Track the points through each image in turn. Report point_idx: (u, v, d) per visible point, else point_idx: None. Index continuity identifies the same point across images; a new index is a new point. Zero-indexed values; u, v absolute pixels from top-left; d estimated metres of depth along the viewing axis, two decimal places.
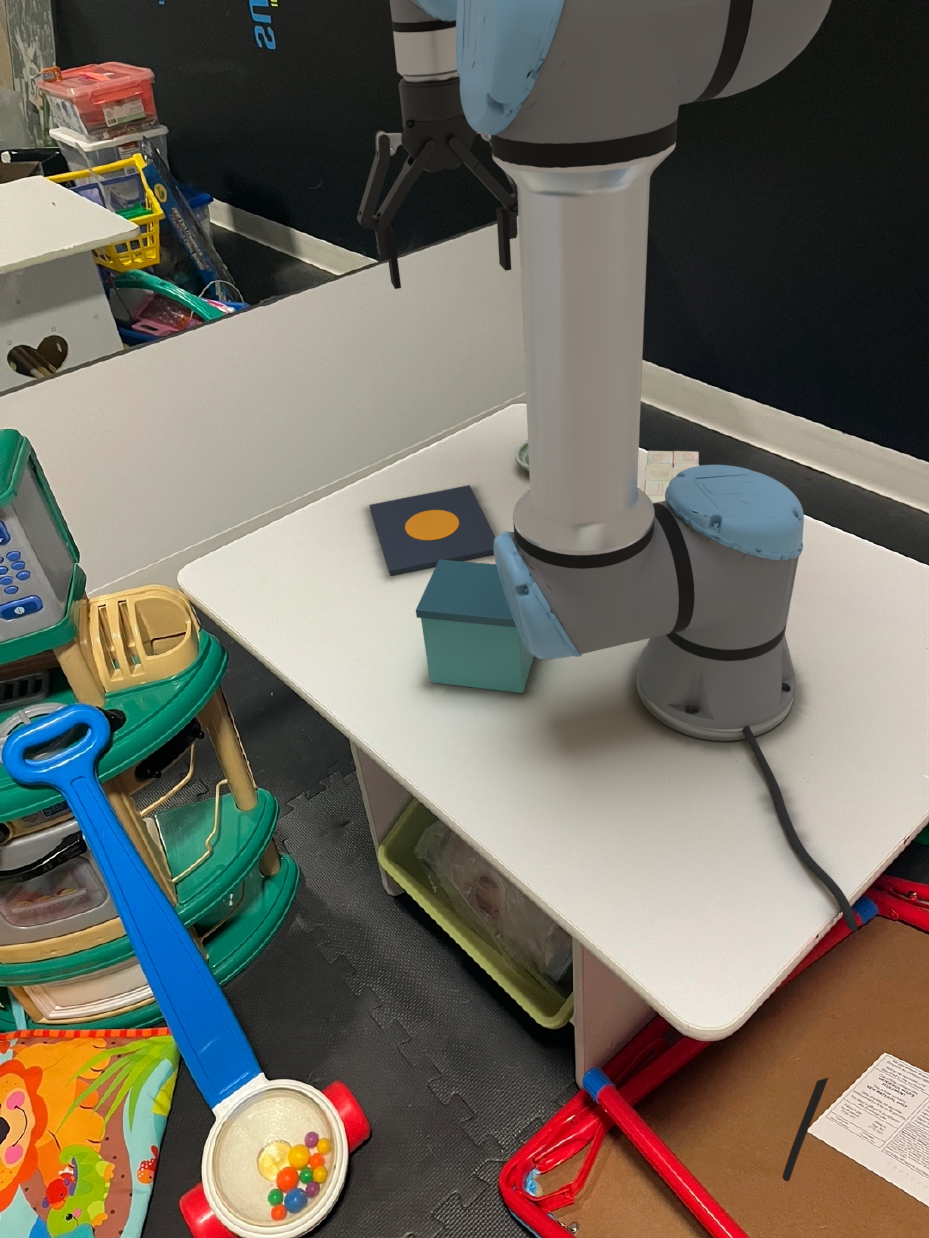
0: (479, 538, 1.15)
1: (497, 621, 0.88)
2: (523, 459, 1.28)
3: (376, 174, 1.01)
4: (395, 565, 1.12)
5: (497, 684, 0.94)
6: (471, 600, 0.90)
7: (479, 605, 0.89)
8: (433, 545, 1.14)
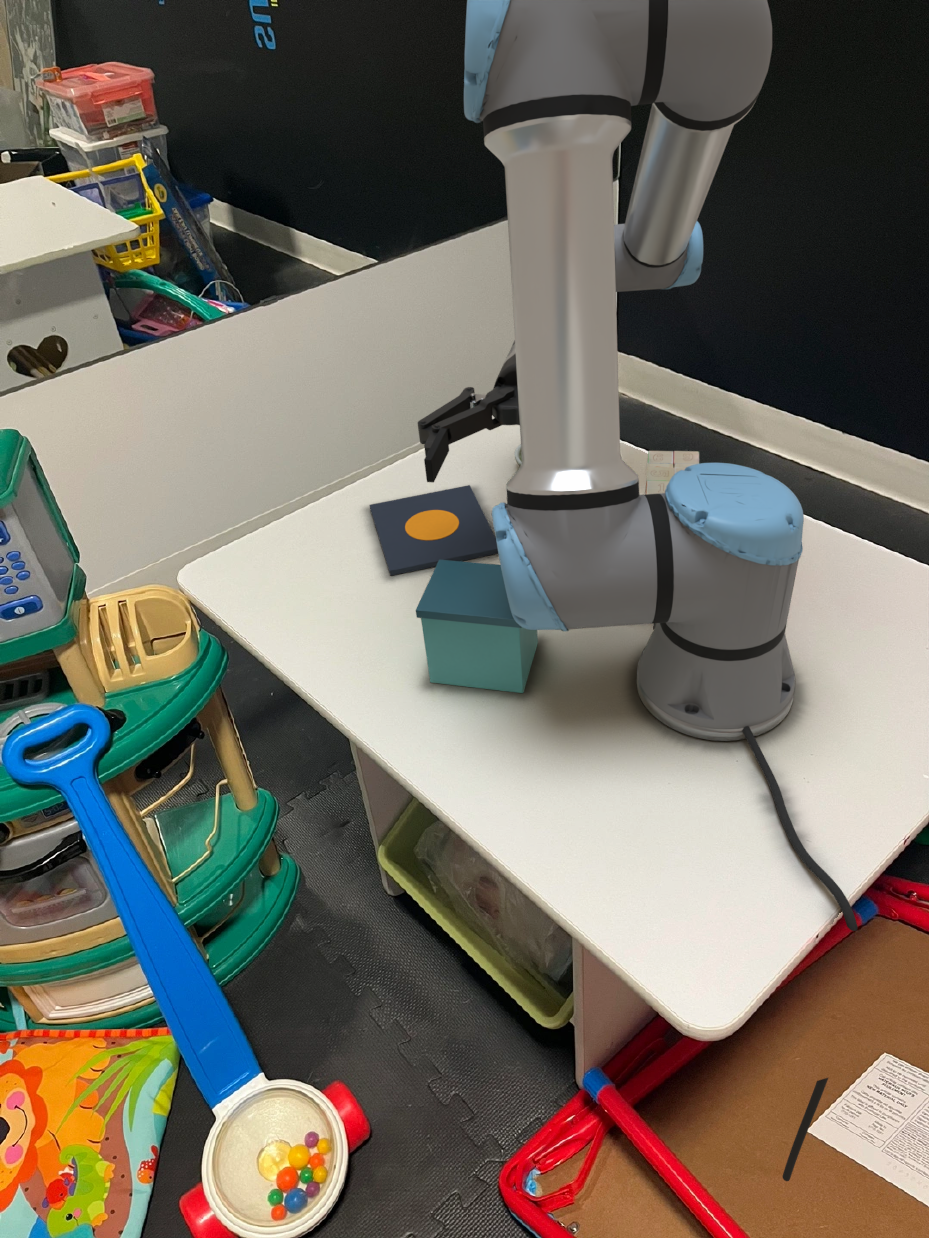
0: (479, 538, 1.15)
1: (497, 621, 0.88)
2: None
3: (451, 401, 1.04)
4: (395, 565, 1.12)
5: (497, 684, 0.94)
6: (471, 600, 0.90)
7: (479, 605, 0.89)
8: (433, 545, 1.14)
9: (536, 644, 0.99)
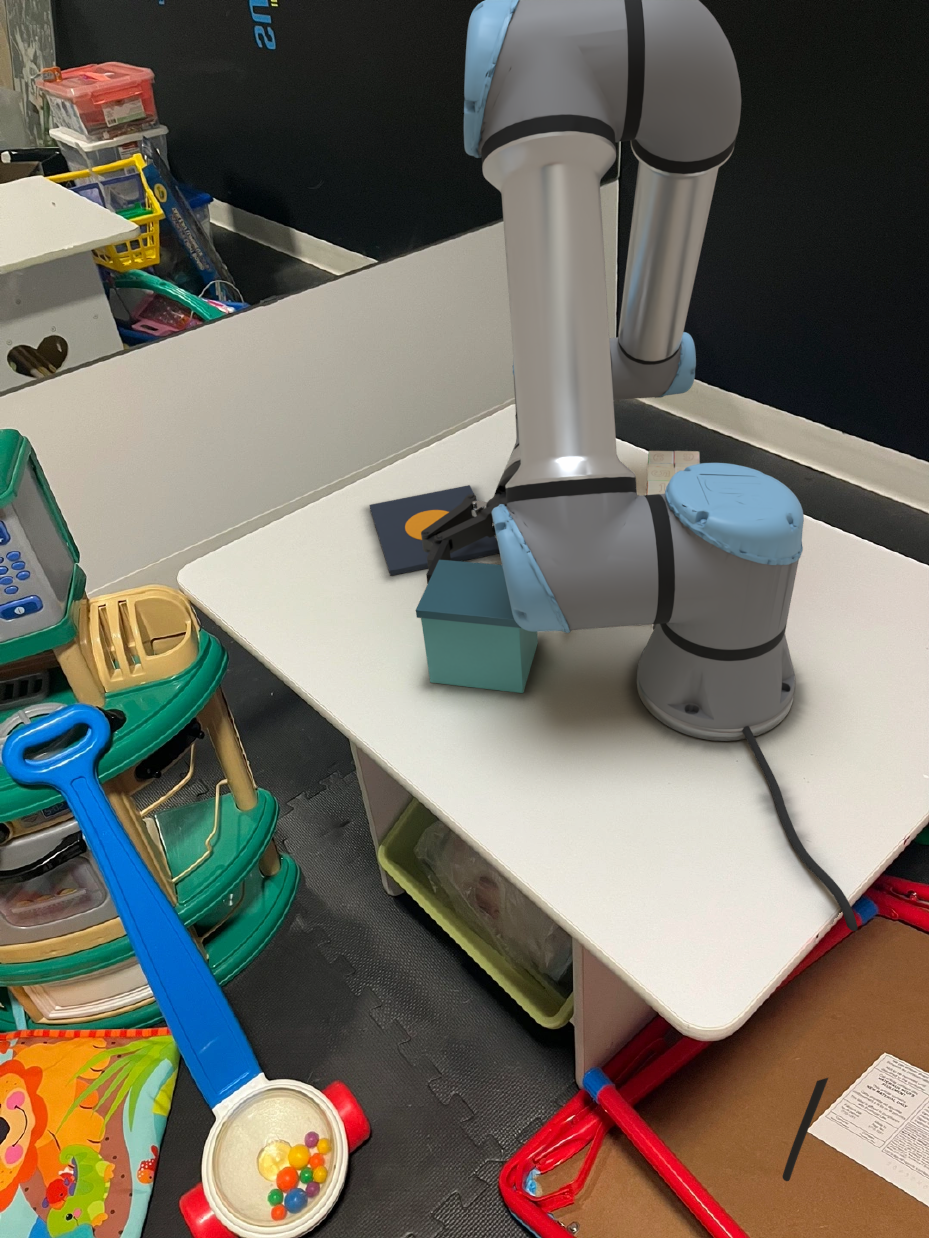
0: None
1: (497, 621, 0.88)
2: None
3: (454, 510, 1.08)
4: (395, 565, 1.12)
5: (497, 684, 0.94)
6: (471, 600, 0.90)
7: (479, 605, 0.89)
8: None
9: (536, 644, 0.99)
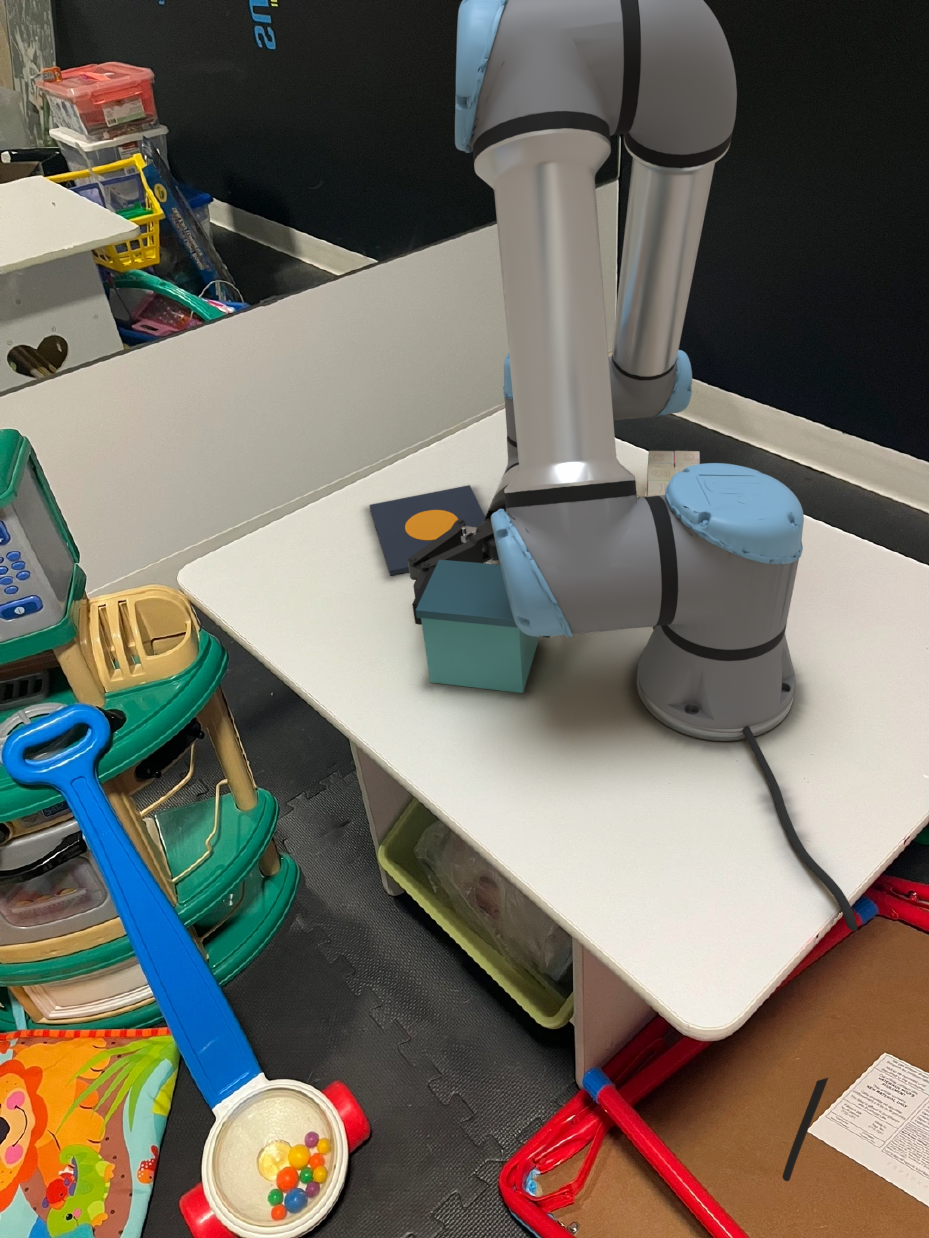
0: None
1: (497, 621, 0.88)
2: None
3: (442, 536, 1.04)
4: (395, 565, 1.12)
5: (497, 684, 0.94)
6: (471, 600, 0.90)
7: (479, 605, 0.89)
8: None
9: (536, 644, 0.99)
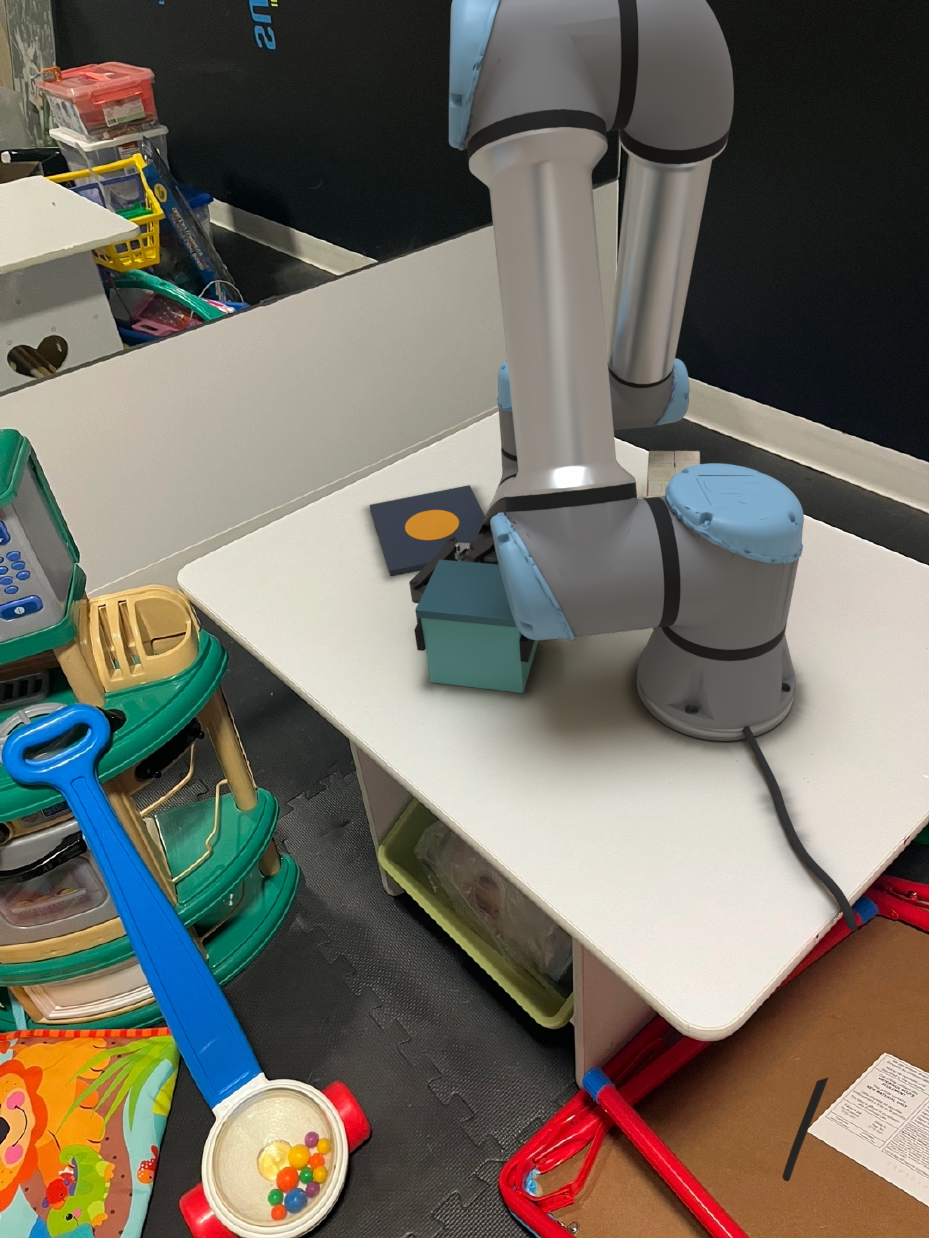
0: None
1: (497, 621, 0.88)
2: None
3: (438, 555, 1.01)
4: (395, 565, 1.12)
5: (497, 684, 0.94)
6: (471, 600, 0.90)
7: (479, 605, 0.89)
8: (433, 545, 1.14)
9: (536, 644, 0.99)
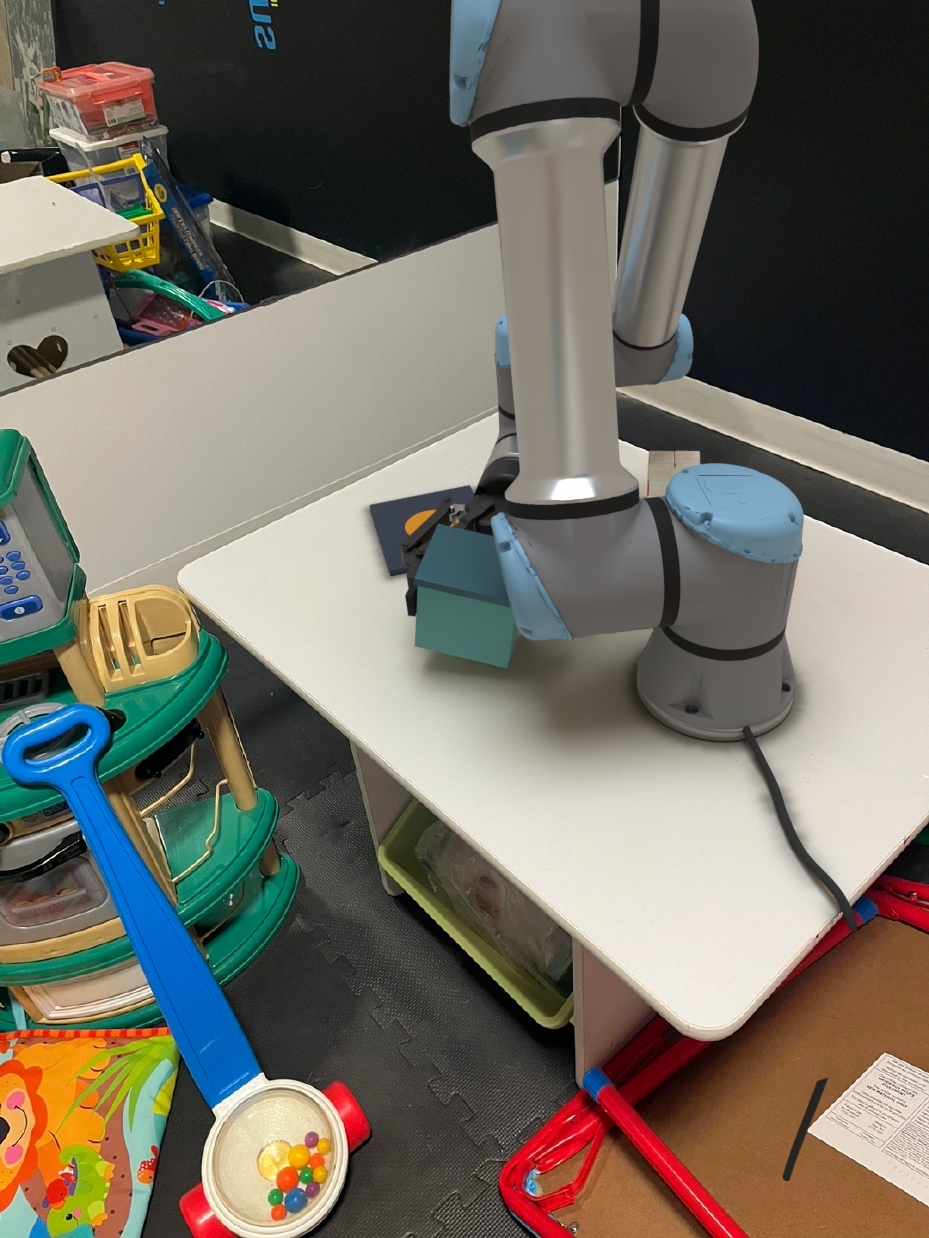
0: None
1: (496, 600, 0.87)
2: None
3: (431, 517, 0.99)
4: (395, 565, 1.12)
5: (482, 657, 0.94)
6: (471, 574, 0.89)
7: (478, 580, 0.88)
8: None
9: None
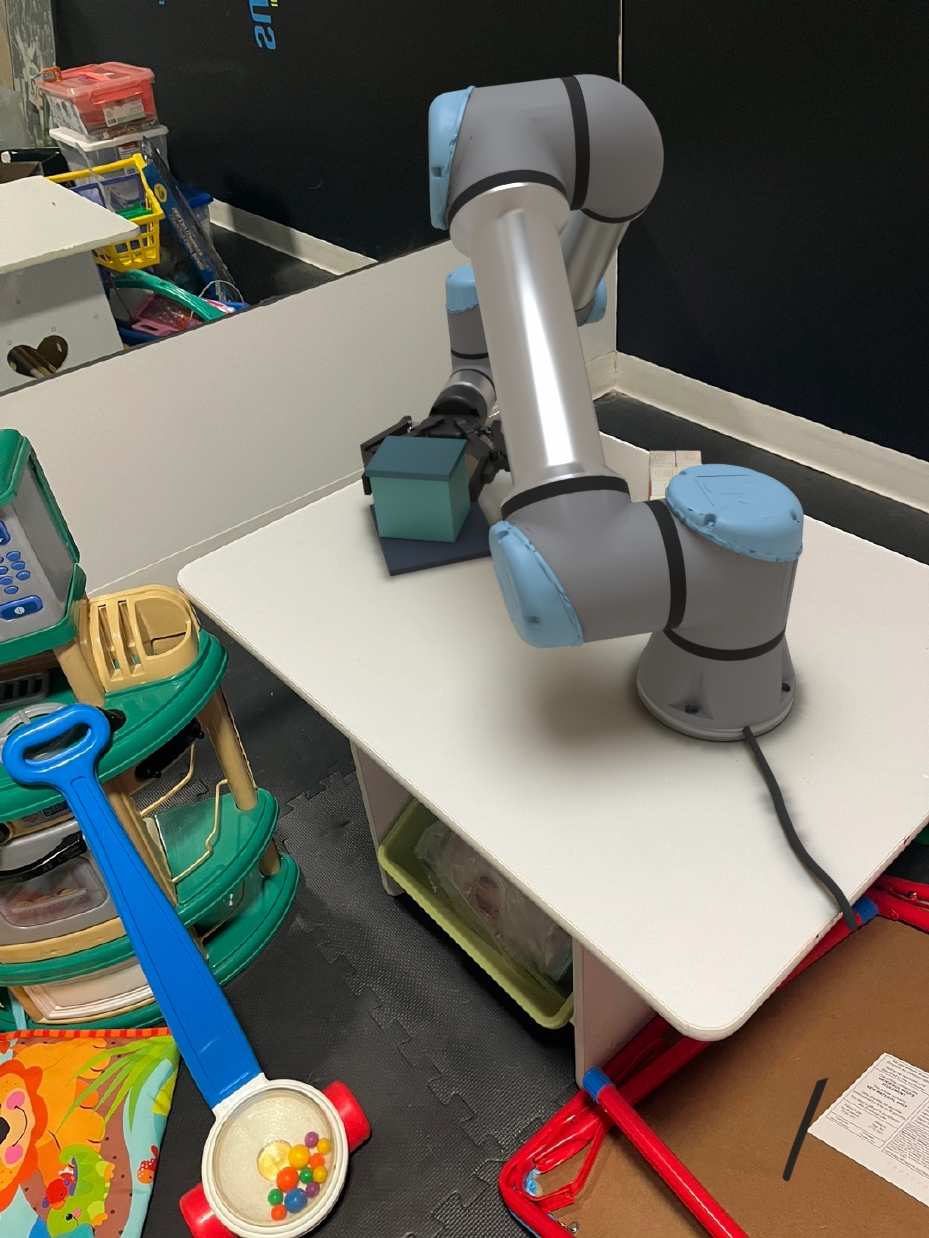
0: (479, 538, 1.15)
1: (430, 476, 1.09)
2: None
3: (390, 428, 1.22)
4: (395, 565, 1.12)
5: (433, 535, 1.14)
6: (410, 462, 1.11)
7: (416, 465, 1.10)
8: (433, 545, 1.14)
9: (468, 508, 1.19)
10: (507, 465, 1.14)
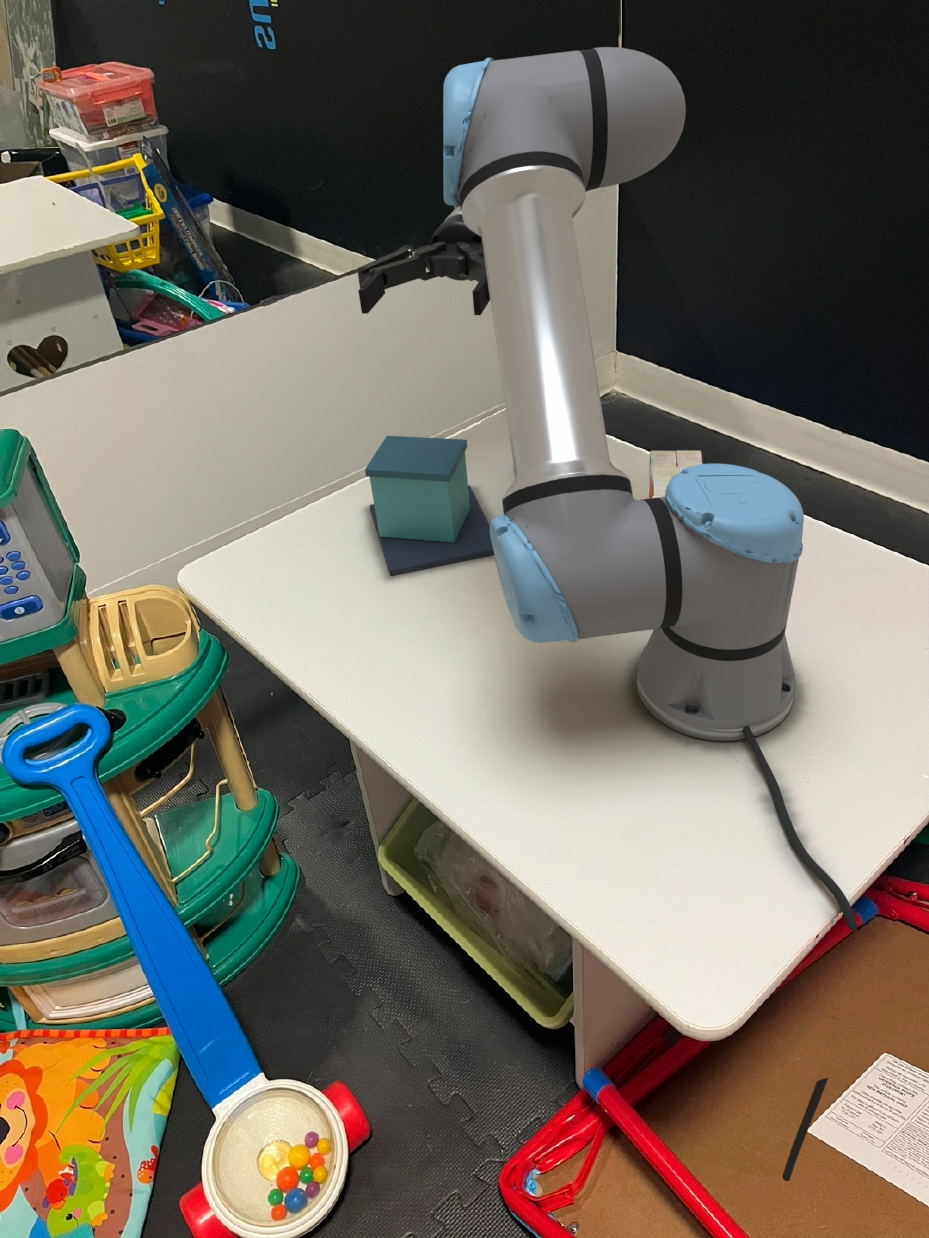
0: (479, 538, 1.15)
1: (430, 476, 1.09)
2: None
3: (389, 255, 1.15)
4: (395, 565, 1.12)
5: (433, 535, 1.14)
6: (410, 462, 1.11)
7: (416, 465, 1.10)
8: (433, 545, 1.14)
9: (468, 508, 1.19)
10: None
